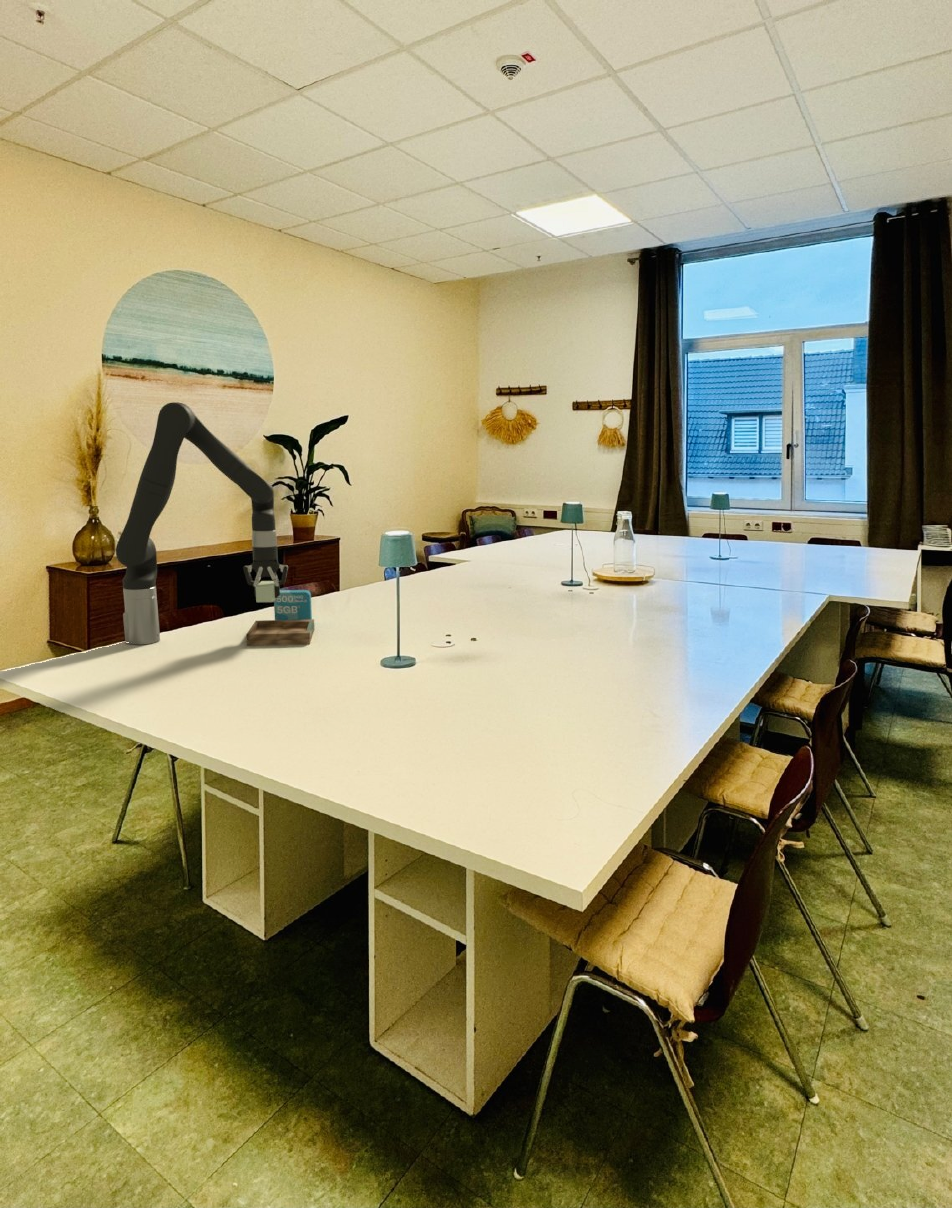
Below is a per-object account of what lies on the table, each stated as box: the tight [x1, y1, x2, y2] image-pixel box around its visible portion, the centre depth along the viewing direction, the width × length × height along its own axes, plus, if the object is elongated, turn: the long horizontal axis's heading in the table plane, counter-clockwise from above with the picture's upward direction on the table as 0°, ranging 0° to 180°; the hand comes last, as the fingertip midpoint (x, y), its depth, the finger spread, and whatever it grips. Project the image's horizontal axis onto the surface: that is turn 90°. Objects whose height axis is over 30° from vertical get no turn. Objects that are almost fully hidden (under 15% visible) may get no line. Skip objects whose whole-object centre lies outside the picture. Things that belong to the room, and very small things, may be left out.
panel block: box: [255, 580, 276, 603], centre depth 231 cm, size 5×10×5 cm, turn 6°
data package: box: [273, 589, 313, 620], centre depth 250 cm, size 12×4×12 cm, turn 97°
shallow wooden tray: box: [246, 618, 315, 647], centre depth 234 cm, size 19×20×4 cm
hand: (267, 597), depth 231 cm, fingers closed on panel block, 5 cm apart
